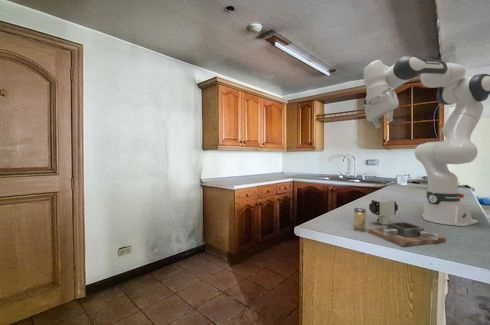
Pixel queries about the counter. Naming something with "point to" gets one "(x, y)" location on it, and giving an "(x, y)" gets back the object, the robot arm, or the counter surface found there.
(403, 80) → the robot arm
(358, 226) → the amber cylinder
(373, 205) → the pneumatic valve
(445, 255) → the counter surface
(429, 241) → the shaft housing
